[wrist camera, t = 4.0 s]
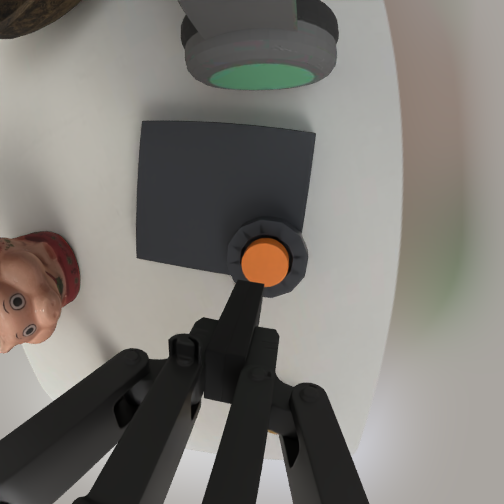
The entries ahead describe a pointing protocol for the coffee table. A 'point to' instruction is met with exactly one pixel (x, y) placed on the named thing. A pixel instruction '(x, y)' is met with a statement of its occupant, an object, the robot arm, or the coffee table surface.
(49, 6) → the bowl
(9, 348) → the decorative planter
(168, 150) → the scale
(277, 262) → the button
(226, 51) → the grey headset
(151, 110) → the coffee table surface
